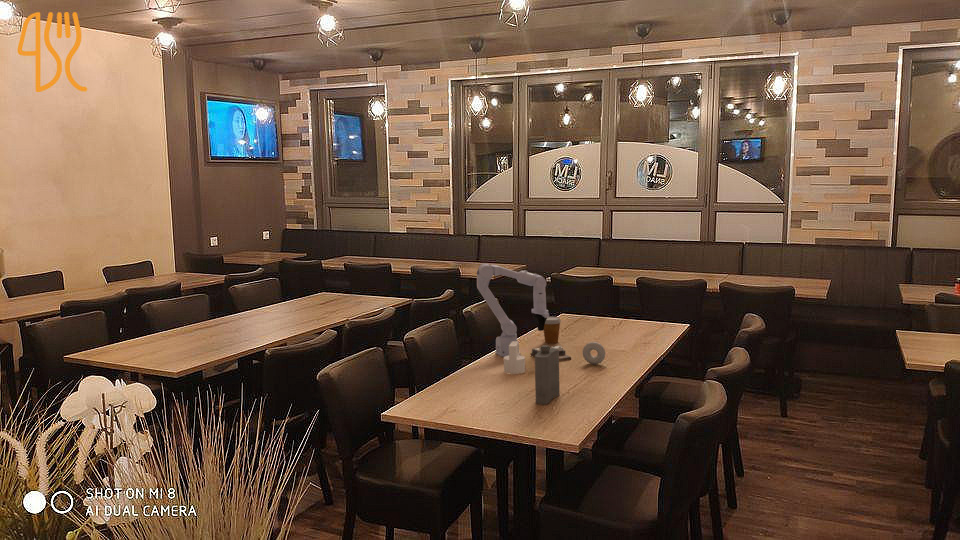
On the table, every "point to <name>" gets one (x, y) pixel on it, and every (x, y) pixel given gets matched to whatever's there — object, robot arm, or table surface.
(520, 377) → the table surface
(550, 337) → the disposable coffee cup
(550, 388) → the flask
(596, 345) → the donut
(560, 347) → the tile two
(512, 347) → the cylinder with rectangular tab
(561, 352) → the dark brown cabinet frame
